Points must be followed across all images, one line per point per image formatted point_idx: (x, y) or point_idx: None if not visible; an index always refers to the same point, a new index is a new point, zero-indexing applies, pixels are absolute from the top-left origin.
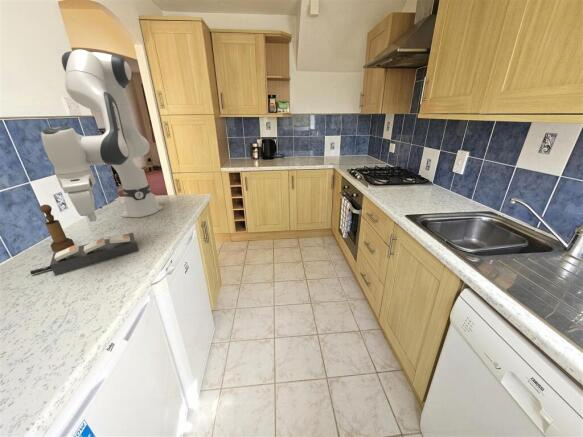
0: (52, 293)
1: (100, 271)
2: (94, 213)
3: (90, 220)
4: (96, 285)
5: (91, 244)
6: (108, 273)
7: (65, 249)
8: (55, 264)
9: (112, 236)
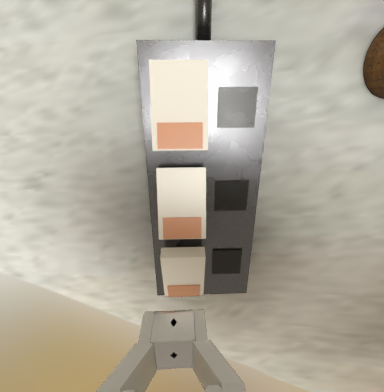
0: (15, 58)
1: (91, 183)
2: (195, 370)
3: (143, 319)
4: (9, 174)
5: (186, 196)
6: (66, 201)
7: (202, 103)
8: (139, 61)
9: (199, 264)
